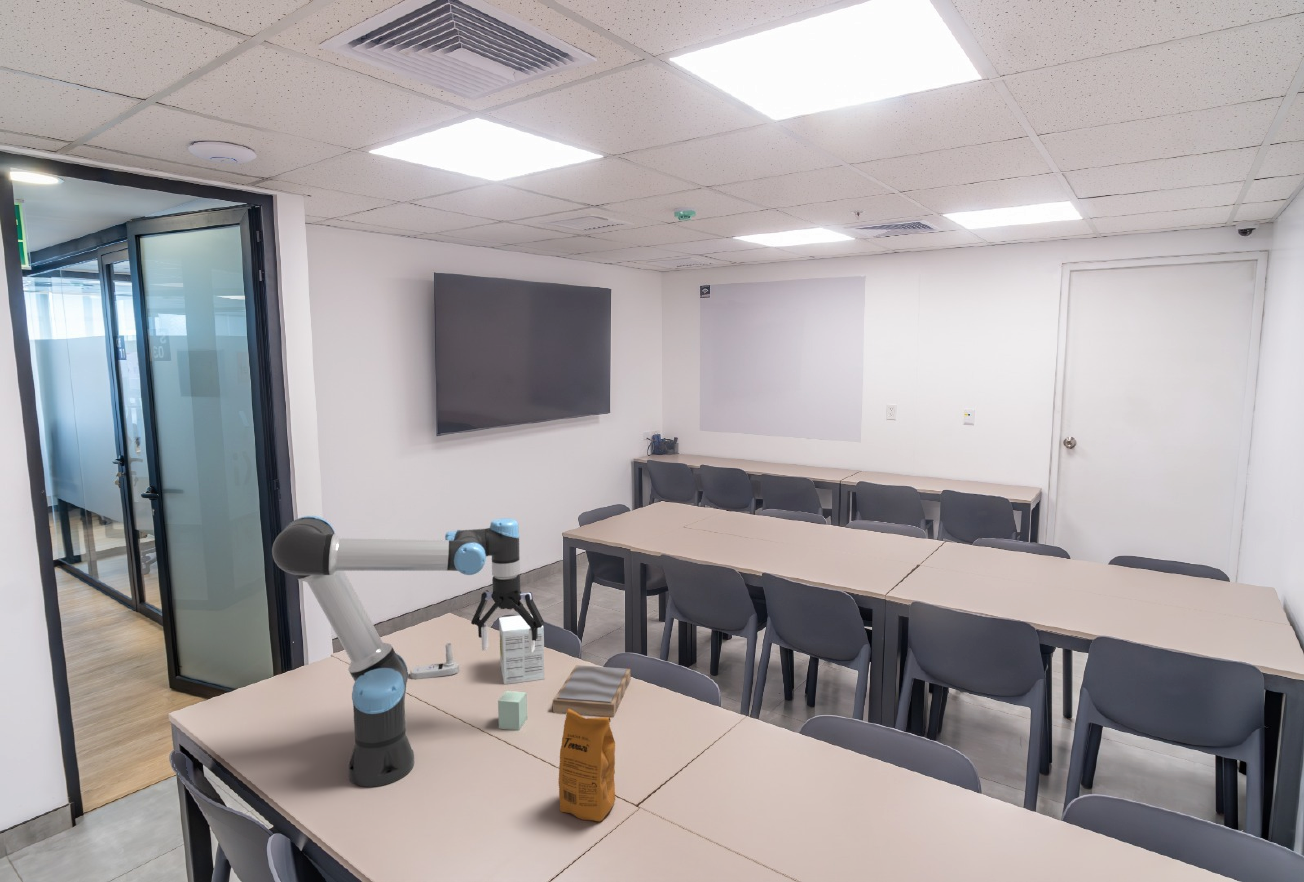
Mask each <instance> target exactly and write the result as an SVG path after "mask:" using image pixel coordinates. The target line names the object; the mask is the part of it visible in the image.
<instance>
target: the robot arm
mask: <svg viewBox="0 0 1304 882" xmlns="http://www.w3.org/2000/svg"><path fill="white" fill-rule="evenodd" d="M444 539H445V540H443V539H400V538H399V539H393V538H392V539H391V538H389V539H386V538H384V539H383V538H381V539H380V538H341V537H339V536H338V535H337V534H336V533H335V529H334V528H333V525H332V524H331V523H330V522H329V521H328V520H327V519H324V518H323V517H320V516H317V515H305V516H302V517H298V518H297V519H294V520H293V521H292V522H289V524H287V525H286V526H285V528H284V529H283V530H282V531H281V532H279V534H278V535H277V536H276V538H275V540H274V542H273V544H272V548H271V553H272V554H271V555H272V558H273V561H274V563H275V564H276V566H277V567H278V568H279V569H281V570H282V571H284V572H286V573H288V574H289V575H294V576H295V577H296V579H297V580H298V581H301V582H306V583H307V584H308V586H309V588H310V590H311V592H312V594H313V595H314V597H315V599H316V600H317V604H318V605H319V606H320V608H321V610H322V612H323V614H324V616H325V617H326V619H327V620H328V623H329V624H330V626H331V628H332V629H333V631H334V633H335V635H336V637H337V638H338V640H339V642H340V644H341V646H342V647H343V649H344V651H345V653H346V654H347V657H348V658H349V660H350V663H349V666H348V672H349V674H350V676H351V677H352V679H353V681H354V683H353V686H352V691H351V700H352V705H353V708H352V709H353V725H354V727H353V729H354V747H353V749H352V754H351V755H350V759H349V760H350V761H349V763H348V769H347V770H348V779H349V781H350V782H351V783H352V784H355V785H356V786H360V787H365V788H366V787H368V788H369V787H373V788H374V787H381V786H385V785H389V784H391V783H394V782H396V781H399V780H400V779H402V778H404V777H405V776H407V775H408V774H409V773H410V772H411V771H412V770H413V768H414V767H415V752H414V750H413V749H412V746H411V743H410V741H409V738H408V736H407V731H406V729H407V728H406V709H405V707H406V706H405V704H406V691H407V683H408V678H409V672H408V671H409V670H408V666H407V663H406V661H405V660H404V658H403V657H402V656H401V655H400V654H398V653H397V652H396V651H395V649H394V648H393V646H392V644H390V643H386V642H384V641H383V640H382V638H381V636H380V635H379V632H378V631H377V629H376V627H375V625H374V623H373V621H372V620H371V618H370V617H369V615H368V612H367V611H366V609H365V607H364V605H363V603H362V601H361V600H360V598H359V596H358V594H357V592H356V590H355V589H354V587H353V585H352V583H351V581H350V579H349V578H348V576H347V574H346V571H348V572H349V571H350V572H352V571H354V572H356V571H357V572H360V571H361V572H363V571H367V572H368V571H369V572H370V571H371V572H372V571H373V572H375V571H377V572H379V571H380V572H387V571H388V572H389V571H390V572H391V571H392V572H394V571H395V572H400V571H401V572H402V571H405V572H406V571H408V572H415V571H418V572H419V571H420V572H421V571H422V572H423V571H425V572H426V571H427V572H435V571H437V572H438V571H439V572H440V571H442V572H445V571H449V572H451V571H452V572H459V573H460V574H462V575H465V576H473V575H475V574H478V573H479V572H480V571H482V570H483V568H484V566H485V564H486V558H487V557H490V556H491V575H492V582H491V583H492V585H491V586H492V592H491V591H489V590H488V589H487V590H484V591H483V592H482V593H481V597H480V602H479V604H478V606H477V608H476V609H475V612H474V615H473V617H472V619H471V622H470V623H471V625H476V626H477V629H478V630H477V631H478V632H477V633H478V638H479V639H481V651H486V650H487V649H488V648H489V628H488V624H487V623H486V622H487V621H488V620H489V619H490V618H491V617H492V615H493V614H494V612H495V611H496V610H497V609H498V608H499V609H500V610H510V611H511V610H514V611H515V612H516V613H517V614H519V615H520V616H521V617H522V618H523V619H524V620H525V622H526V623H527V624H528V625H529V626H530V629H529V653H532V652H533V651H534V650H535V640H536V639H537V638H538V628H541V627H542V625H543V626H544V624H545V621H544V619H543V617H542V615H541V613H540V611H539V609H538V607H537V605H536V603H535V601H534V600H533V593H532V591H528V592H527V593H522V591H521V575H520V573H521V565H520V564H521V561H520V558H521V557H520V534H519V523H518V521H517V520H516V519H514V518H499V519H497V518H496V519H493V520H491V522H490V526H489V527H487V528H478V529H476V528H475V529H457V530H452V531H447V532H446V533H445V536H444ZM490 599H492V600H493V602H494V603H493V605H492V606H491V607H490V608H489V609H488V611H487V612H486V613H485V615H483V617H482V618H481V616H482V614H483V611H484V609H485V607H486V606H487V603H488V601H489V600H490ZM521 599H522V600H523V602H525V605H526V606H527V609H528V610H529V611H528V610H527V609H526V608H525V607H524V604H523V603H522V601H521ZM530 614H531V615H532V616H531V615H530Z"/></svg>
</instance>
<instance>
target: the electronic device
mask: <svg viewBox="0 0 1304 882" xmlns="http://www.w3.org/2000/svg"><path fill="white" fill-rule="evenodd" d="M445 659H446V662H441V663H434V664H433V663H432V664H425V665H418V666H417V665H416V666H414V667H412V668H411V669H410V678H411V679H412V680H423V679H430V678H436V677H437V678H440V677H446V676H452V675H456V674H457V673H458V672H459V670H460V667H459V663H458V662H456V661H454V660H453V648H452V643H450V642H449V643H446V644H445Z"/></svg>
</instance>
